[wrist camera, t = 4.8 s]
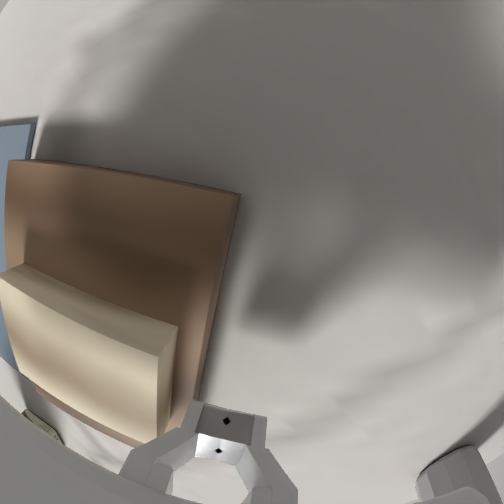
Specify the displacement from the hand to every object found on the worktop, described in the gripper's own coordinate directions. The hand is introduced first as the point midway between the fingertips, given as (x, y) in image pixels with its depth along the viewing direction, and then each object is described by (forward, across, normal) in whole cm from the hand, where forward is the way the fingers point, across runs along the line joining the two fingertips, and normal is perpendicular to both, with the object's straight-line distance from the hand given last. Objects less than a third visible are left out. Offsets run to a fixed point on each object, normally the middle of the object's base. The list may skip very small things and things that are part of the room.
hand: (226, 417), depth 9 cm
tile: (+1, +7, 0) cm, 7 cm away
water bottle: (+3, -22, +11) cm, 25 cm away
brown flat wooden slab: (+3, +8, 0) cm, 8 cm away
